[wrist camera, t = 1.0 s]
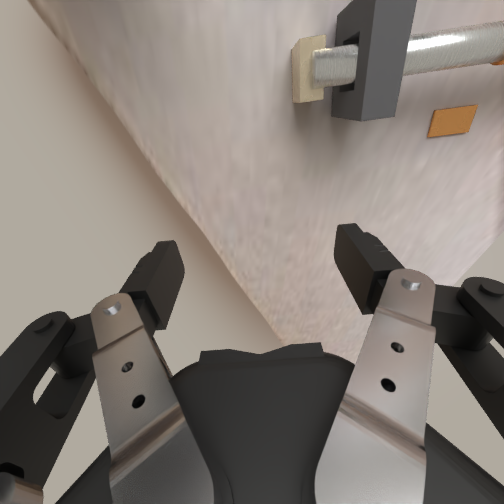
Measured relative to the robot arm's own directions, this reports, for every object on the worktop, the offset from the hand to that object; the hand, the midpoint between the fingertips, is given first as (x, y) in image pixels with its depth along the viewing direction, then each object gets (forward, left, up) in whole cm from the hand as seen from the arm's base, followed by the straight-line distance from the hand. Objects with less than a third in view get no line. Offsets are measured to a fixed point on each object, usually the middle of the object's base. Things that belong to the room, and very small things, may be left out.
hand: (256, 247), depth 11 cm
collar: (-8, +12, -24) cm, 28 cm away
